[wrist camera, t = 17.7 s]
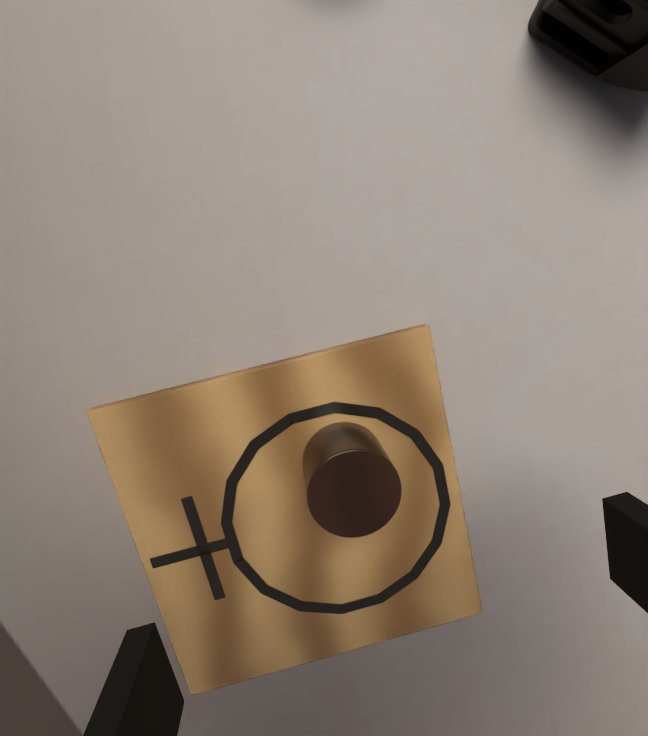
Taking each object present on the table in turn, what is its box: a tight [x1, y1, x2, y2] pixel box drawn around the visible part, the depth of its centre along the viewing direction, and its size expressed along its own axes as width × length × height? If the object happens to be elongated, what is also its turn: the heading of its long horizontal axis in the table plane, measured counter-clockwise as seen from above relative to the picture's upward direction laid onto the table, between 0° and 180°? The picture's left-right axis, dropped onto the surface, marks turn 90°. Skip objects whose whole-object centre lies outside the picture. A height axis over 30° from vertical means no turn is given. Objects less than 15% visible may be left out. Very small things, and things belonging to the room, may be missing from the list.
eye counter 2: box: [302, 422, 402, 538], centre depth 22 cm, size 4×4×4 cm
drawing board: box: [87, 324, 482, 695], centre depth 25 cm, size 18×18×1 cm
